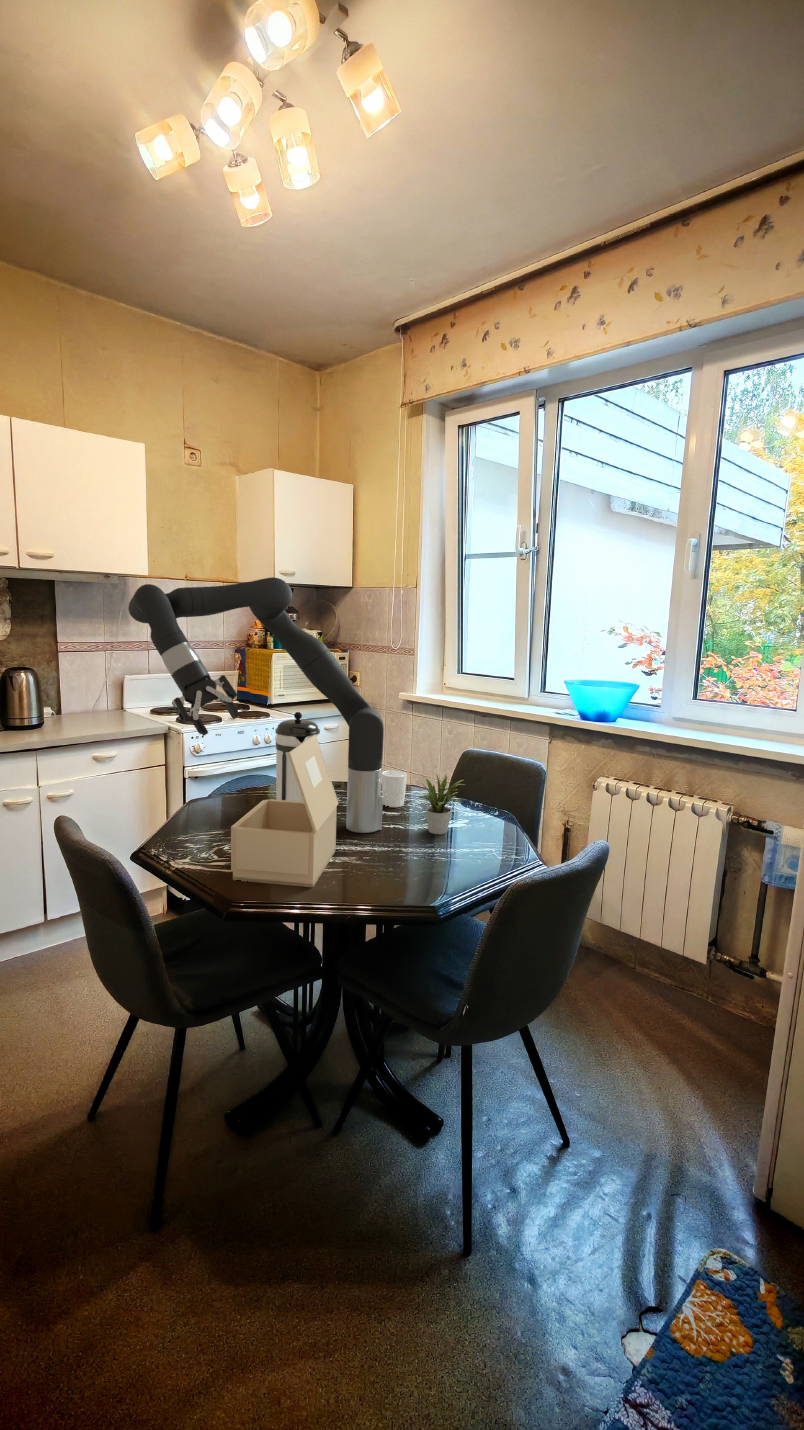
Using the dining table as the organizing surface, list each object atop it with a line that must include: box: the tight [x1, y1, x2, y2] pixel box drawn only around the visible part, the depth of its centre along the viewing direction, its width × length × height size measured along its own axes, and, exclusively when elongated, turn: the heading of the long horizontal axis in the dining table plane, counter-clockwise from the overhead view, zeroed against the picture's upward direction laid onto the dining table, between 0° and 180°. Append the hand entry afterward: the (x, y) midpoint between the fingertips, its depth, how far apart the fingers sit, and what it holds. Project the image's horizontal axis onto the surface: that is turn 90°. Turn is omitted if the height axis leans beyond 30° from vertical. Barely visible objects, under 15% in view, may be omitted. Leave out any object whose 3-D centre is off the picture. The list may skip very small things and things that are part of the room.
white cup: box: [381, 769, 408, 808], centre depth 203 cm, size 8×8×10 cm
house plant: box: [417, 773, 466, 835], centre depth 178 cm, size 14×14×16 cm
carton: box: [230, 798, 338, 888], centre depth 151 cm, size 19×23×12 cm
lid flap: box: [287, 734, 340, 833], centre depth 148 cm, size 18×22×1 cm
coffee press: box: [274, 711, 321, 802], centre depth 191 cm, size 17×16×30 cm
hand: (221, 726), depth 153 cm, fingers open, 8 cm apart
